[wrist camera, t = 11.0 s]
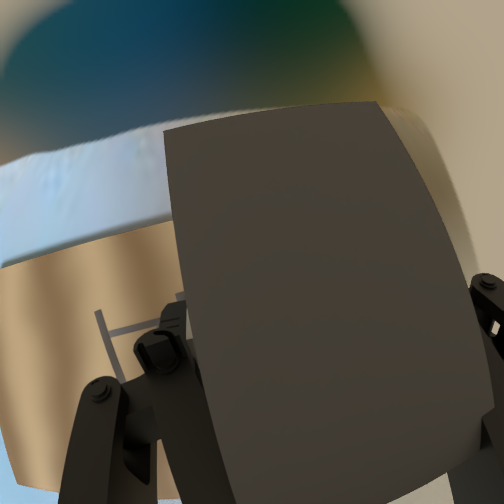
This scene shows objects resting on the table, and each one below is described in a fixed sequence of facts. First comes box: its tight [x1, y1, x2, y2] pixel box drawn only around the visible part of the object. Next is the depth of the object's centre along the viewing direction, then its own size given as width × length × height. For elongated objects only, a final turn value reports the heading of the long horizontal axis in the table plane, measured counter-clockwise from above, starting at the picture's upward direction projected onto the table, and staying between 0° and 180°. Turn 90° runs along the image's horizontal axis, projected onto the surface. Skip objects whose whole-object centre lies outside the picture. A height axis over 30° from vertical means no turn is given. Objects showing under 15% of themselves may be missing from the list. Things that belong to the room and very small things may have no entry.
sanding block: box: [163, 102, 495, 504], centre depth 10 cm, size 8×5×11 cm, turn 13°
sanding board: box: [0, 220, 186, 499], centre depth 16 cm, size 26×16×1 cm, turn 104°
